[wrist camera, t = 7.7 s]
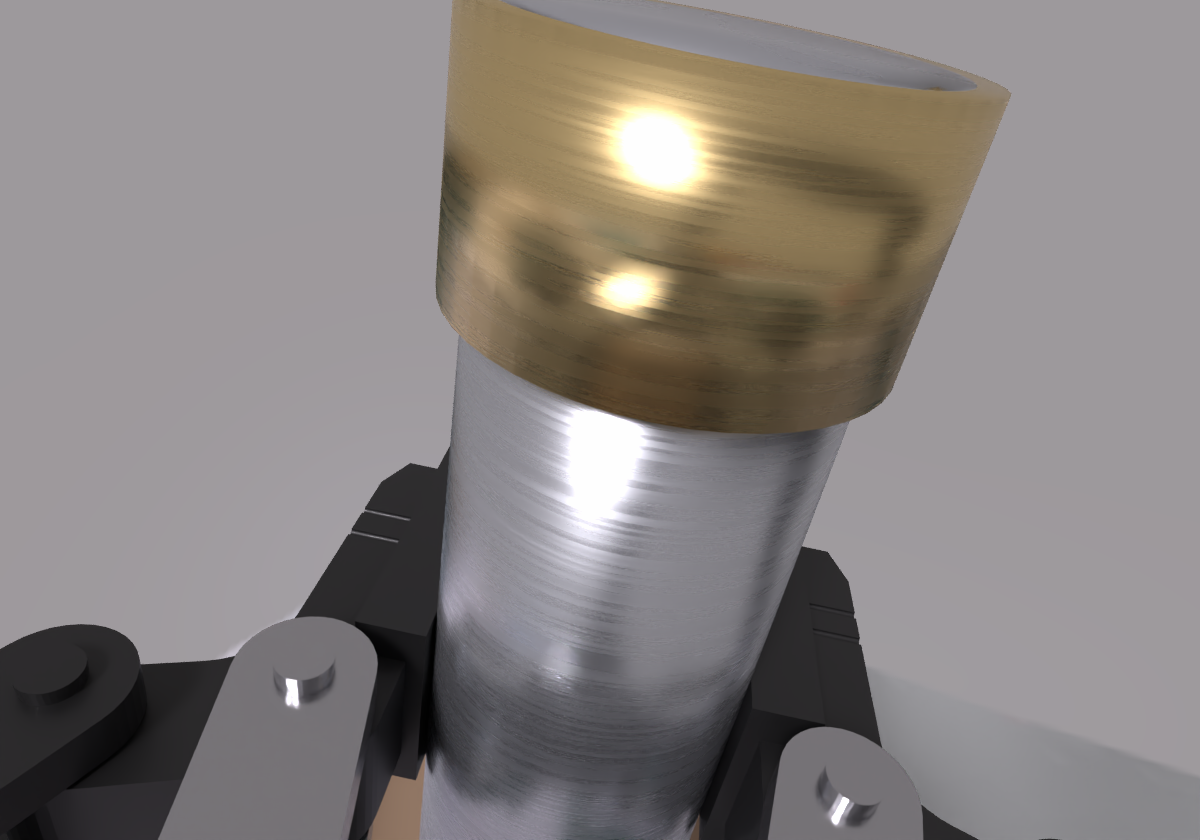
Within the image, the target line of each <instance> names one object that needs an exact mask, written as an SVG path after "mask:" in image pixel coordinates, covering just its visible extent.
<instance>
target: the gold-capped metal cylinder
mask: <svg viewBox="0 0 1200 840" xmlns="http://www.w3.org/2000/svg"><path fill="white" fill-rule="evenodd" d="M1010 96H1011V93H1010V92H1009V91H1008V89H1006V88H1004V87H1002V86H1000V85H999V84H997V83H994V82H992V81H990V80H988V79H985V78H982V77H979V76H977V75H974V74H972V73H968V72H966V71H963V70H960V69H956V68H953V67H950V66H947V65H944V64H940V63H937V62H934V61H930V60H927V59H923V58H920V57H916V56H913V55H909V54H905V53H901V52H897V51H894V50H890V49H886V48H882V47H878V46H874V45H870V44H866V43H862V42H858V41H854V40H850V39H846V38H841V37H837V36H833V35H828V34H824V33H820V32H815V31H811V30H806V29H802V28H797V27H792V26H788V25H783V24H778V23H773V22H769V21H763V20H759V19H754V18H749V17H744V16H739V15H734V14H729V13H724V12H719V11H714V10H708V9H703V8H698V7H692V6H686V5H680V4H675V3H670V2H664V1H658V0H453V2H452V20H451V36H450V52H449V70H448V86H447V102H446V120H445V137H444V154H443V170H442V188H441V202H440V219H439V236H438V252H437V270H436V298H437V301H438V303H439V306H440V309H441V311H442V313H443V315H444V316H445V318H446V319H447V320H448V322H449V324H450V325H451V326H452V328H453V329H454V330H455V331H456V332H457V333H458V334H459V340H458V353H457V366H456V379H455V391H454V403H453V417H452V429H451V442H450V454H449V467H448V479H447V492H446V505H445V517H444V530H443V543H442V555H441V568H440V581H439V593H438V606H437V619H436V631H435V644H434V657H433V669H432V682H431V695H430V707H429V720H428V733H427V745H426V758H425V771H424V783H423V796H422V809H421V821H420V834H419V840H690V837H691V834H692V832H693V829H694V827H695V824H696V821H697V819H698V816H699V814H700V811H701V808H702V806H703V803H704V800H705V798H706V795H707V793H708V790H709V787H710V785H711V782H712V780H713V777H714V774H715V772H716V769H717V766H718V764H719V761H720V759H721V756H722V753H723V751H724V748H725V746H726V743H727V740H728V738H729V735H730V732H731V730H732V727H733V725H734V722H735V719H736V717H737V714H738V712H739V709H740V706H741V704H742V701H743V698H744V696H745V693H746V691H747V688H748V685H749V683H750V680H751V678H752V675H753V672H754V670H755V667H756V664H757V662H758V659H759V657H760V654H761V651H762V649H763V646H764V644H765V641H766V638H767V636H768V633H769V630H770V628H771V625H772V623H773V620H774V617H775V615H776V612H777V610H778V607H779V604H780V602H781V599H782V596H783V594H784V591H785V589H786V586H787V583H788V581H789V578H790V575H791V573H792V570H793V568H794V565H795V562H796V560H797V557H798V555H799V552H800V549H801V547H802V544H803V541H804V539H805V536H806V534H807V531H808V528H809V526H810V523H811V520H812V518H813V515H814V513H815V510H816V507H817V505H818V502H819V500H820V497H821V494H822V492H823V489H824V487H825V484H826V481H827V479H828V476H829V473H830V471H831V468H832V466H833V463H834V460H835V458H836V455H837V452H838V450H839V447H840V445H841V442H842V439H843V437H844V434H845V432H846V429H847V426H848V424H849V421H850V420H852V419H855V418H857V417H859V416H862V415H864V414H866V413H868V412H870V411H871V410H872V409H874V408H875V407H877V406H878V405H879V404H881V403H882V402H883V401H884V399H885V398H886V397H887V396H888V394H889V393H890V392H891V390H892V388H893V386H894V383H895V380H896V378H897V376H898V373H899V371H900V368H901V366H902V363H903V361H904V358H905V356H906V353H907V351H908V348H909V346H910V344H911V341H912V339H913V336H914V334H915V331H916V329H917V326H918V324H919V321H920V319H921V316H922V314H923V312H924V309H925V307H926V304H927V302H928V299H929V297H930V294H931V292H932V289H933V287H934V284H935V282H936V279H937V277H938V274H939V272H940V270H941V267H942V265H943V262H944V260H945V257H946V254H947V252H948V249H949V247H950V245H951V242H952V240H953V237H954V235H955V232H956V230H957V228H958V225H959V222H960V220H961V217H962V215H963V213H964V210H965V208H966V205H967V203H968V200H969V198H970V195H971V193H972V190H973V188H974V185H975V183H976V180H977V178H978V176H979V173H980V171H981V168H982V166H983V163H984V161H985V158H986V156H987V153H988V151H989V148H990V146H991V144H992V141H993V138H994V136H995V134H996V131H997V129H998V126H999V123H1000V121H1001V119H1002V116H1003V114H1004V111H1005V109H1006V106H1007V104H1008V102H1009V99H1010Z"/></svg>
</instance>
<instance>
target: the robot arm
mask: <svg viewBox="0 0 1200 840" xmlns="http://www.w3.org/2000/svg"><path fill="white" fill-rule="evenodd" d="M449 454H450V447H449V449H448V451H447V452H446V454H445V456H444V458H443V460H442V462H441V464H440V465H439V467H438V469H435V468H431V467H426V466H421V465H416V464H412V463H410V464H408V465H407V466H405V467H404V468H403V469H401V470H399V471H398V472H396V473H395V474H393V475H392V476H390V477H388V478H387V479H386V480H384V481H382V482H381V484H380V485H379V487H378V488H377V490H376V491H375V493H374V495H373V496H372V498H371V499H370V501H369V503H368V504H367V506H366V507H365V512H364V513H362V514H361V515H360V517H359V518H358V520H357V521H356V523H355V525H354V526H353V528H352V531H351V534H350V535H349V534H348V536H347V537H346V539H345V540H344V542H343V544H342V545H341V547H340V548H339V550H338V552H337V553H336V555H335V556H334V558H333V559H332V561H331V563H330V564H329V566H328V567H327V569H326V570H325V572H324V574H323V575H322V577H321V578H320V580H319V581H318V583H317V585H316V586H315V588H314V589H313V591H312V592H311V594H310V596H309V597H308V599H307V600H306V602H305V604H304V605H303V607H302V608H301V610H300V611H299V613H298V615H297V616H296V617H295V619H290V620H286V621H283V622H280V623H277V624H275V625H272V626H270V627H268V628H266V629H264V630H262V631H261V632H259V633H258V634H256V635H255V636H254V637H252V638H251V639H250V640H249V641H248V642H247V643H246V644H244V645H243V646H242V648H241V649H240V650H239V652H238V653H237V654H236V656H233V657H228V658H224V659H219V660H210V661H197V662H180V663H160V664H142V665H141V664H140V659H139V655H138V652H137V649H136V648H135V646H134V644H133V643H132V642H131V641H130V640H129V639H128V638H127V637H126V636H124V635H123V634H121V633H119V632H117V631H115V630H112V629H110V628H107V627H102V626H97V625H84V624H80V625H79V624H78V625H65V626H60V627H54V628H49V629H46V630H42V631H39V632H36V633H33V634H30V635H28V636H25V637H23V638H21V639H19V640H17V641H15V642H13V643H11V644H9V645H7V646H5V647H3V648H1V649H0V840H371V839H372V833H373V821H374V819H375V817H376V815H377V812H378V810H379V807H380V805H381V802H382V800H383V797H384V794H385V792H386V789H387V787H388V784H389V782H390V779H391V777H392V775H394V776H398V777H403V778H407V779H412V780H416V779H417V776H418V773H419V770H420V768H421V765H422V762H423V759H424V757H425V754H426V745H427V733H428V720H429V707H430V695H431V682H432V669H433V657H434V644H435V631H436V619H437V606H438V593H439V581H440V568H441V555H442V543H443V530H444V517H445V505H446V492H447V479H448V467H449ZM854 613H855V612H854V607H853V602H852V597H851V592H850V587H849V582H848V581H847V579H846V578H845V576H844V575H843V573H842V572H841V571H840V569H839V568H838V566H837V565H836V563H835V562H834V560H833V559H832V558H831V556H830V555H829V553H828V552H826V551H821V550H816V549H811V548H807V547H801V549H800V552H799V555H798V557H797V560H796V562H795V565H794V568H793V570H792V573H791V575H790V578H789V581H788V583H787V586H786V589H785V591H784V594H783V596H782V599H781V602H780V604H779V607H778V610H777V612H776V615H775V617H774V620H773V623H772V625H771V628H770V630H769V633H768V636H767V638H766V641H765V644H764V646H763V649H762V651H761V654H760V657H759V659H758V662H757V664H756V667H755V670H754V672H753V675H752V678H751V680H750V683H749V685H748V688H747V691H746V693H745V696H744V698H743V701H742V704H741V706H740V709H739V712H738V714H737V717H736V719H735V722H734V725H733V727H732V730H731V732H730V735H729V738H728V740H727V743H726V746H725V748H724V751H723V753H722V756H721V759H720V761H719V764H718V766H717V769H716V772H715V774H714V777H713V780H712V782H711V785H710V787H709V790H708V793H707V795H706V798H705V800H704V803H703V806H702V808H701V811H700V816H699V840H978V839H976V838H974V837H973V836H971V835H969V834H967V833H965V832H963V831H961V830H959V829H957V828H955V827H953V826H951V825H950V824H948V823H946V822H945V821H943V820H941V819H940V818H938V817H937V816H935V815H934V814H933V813H931V812H930V811H928V810H927V809H926V808H925V807H924V806H922V805H921V802H920V799H919V796H918V793H917V791H916V789H915V787H914V785H913V782H912V781H911V779H910V778H909V776H908V775H907V773H906V772H905V770H904V769H903V768H902V767H901V766H900V764H899V763H898V762H897V761H896V760H895V759H894V758H893V757H892V756H891V755H890V754H889V753H887V752H886V751H885V750H884V749H882V745H881V742H880V737H879V732H878V727H877V722H876V717H875V712H874V707H873V702H872V697H871V692H870V687H869V682H868V677H867V672H866V667H865V662H864V657H863V652H862V647H861V645H859V639H860V637H859V632H858V627H857V622H856V619H854ZM1041 840H1058V839H1041Z"/></svg>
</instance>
